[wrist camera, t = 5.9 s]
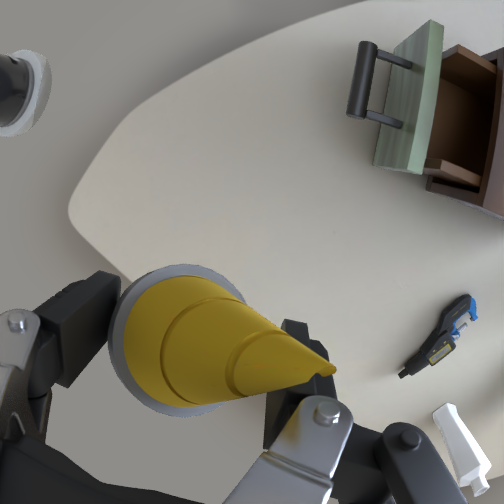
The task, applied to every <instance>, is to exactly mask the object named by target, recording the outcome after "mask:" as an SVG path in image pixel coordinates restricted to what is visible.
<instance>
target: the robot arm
mask: <svg viewBox="0 0 504 504" xmlns="http://www.w3.org/2000/svg"><path fill="white" fill-rule="evenodd" d="M6 54H7V53H6ZM7 55H8V56H6V55H2V54H0V127H9V126H11V125H13V124H14V123H16V122H17V121H18V120H19V119H20V118H21V117H22V115H23V114H24V112H25V111H26V109H27V107H28V105H29V103H30V100H31V97H32V94H33V89H34V71H33V68H32V66H31V64H30V63H29V62H28V61H27V60H25V59H22V58H15V57H14V56H12V55H11V54H7ZM120 291H121V279H120V277H119V276H117V275H114V274H111V273H107V272H104V271H100V270H99V271H97V272H96V273H94V274H93V275H92V276H90V277H89V278H87V279H86V280H80V281H77V282H74V283H71V284H69V285H68V286H67V287H65V288H64V289H62V291H59V292H58V293H57V294H55V296H52V297H51V298H50V299H48V300H47V301H46V302H44V303H43V304H42V305H40V306H39V307H38V308H36V309H35V310H33V311H29V310H25V309H12V310H9V311H6V312H4V313H2V314H0V504H204V503H199V502H195V501H191V500H187V499H183V498H179V497H176V496H172V495H169V494H165V493H162V492H158V491H155V490H146V489H138V488H131V487H124V486H118V485H111V484H106V483H102V482H100V481H99V480H97V479H95V478H94V477H92V476H91V475H90V474H89V473H87V472H86V471H84V470H83V469H82V468H80V467H79V466H78V465H76V464H75V463H74V462H73V461H71V460H70V459H69V458H68V457H66V456H65V455H64V454H63V453H61V452H59V451H57V450H55V449H53V448H51V447H50V446H48V445H46V444H45V439H46V432H47V424H48V418H49V412H50V406H51V400H52V391H51V387H52V386H53V385H54V383H57V384H59V385H61V386H63V387H66V388H69V387H70V385H71V384H72V383H73V382H74V380H75V379H76V378H77V377H78V375H79V374H80V373H81V372H82V371H83V369H84V368H85V367H86V366H87V365H88V363H89V362H90V361H91V360H92V358H93V357H94V356H95V355H96V354H97V352H98V351H99V350H100V349H101V348H102V346H103V345H104V344H105V343H106V342H107V341H108V330H109V325H110V320H111V316H112V314H113V311H114V308H115V306H116V303H117V301H118V300H119V298H120ZM281 330H283V331H284V332H286V333H287V334H289V335H290V336H292V337H293V338H294V339H296V340H297V341H299V342H300V343H302V344H303V345H305V346H306V347H308V348H309V349H311V350H312V351H313V352H315V353H316V354H318V355H319V356H321V357H322V358H324V359H325V360H327V361H328V362H329V357H328V352H327V350H326V349H325V348H324V346H323V345H322V344H321V343H320V341H317V340H312V339H309V333H308V327H307V323H303V322H298V321H293V320H289V319H284V321H283V323H282V326H281ZM263 449H268V451H267V452H263V453H262V454H261V455H260V456H259V458H258V459H257V460H256V461H255V463H254V464H253V465H252V467H251V468H250V469H249V471H248V472H247V473H246V475H245V476H244V477H243V478H242V480H241V481H240V482H239V483H238V485H237V486H236V487H235V489H234V490H233V491H232V492H231V493H230V495H229V496H228V497H227V498H226V500H225V501H224V502H223V503H222V504H326V502H327V500H328V498H329V497H332V498H335V499H338V502H339V504H395V502H396V504H468V502H467V500H466V499H465V497H464V495H463V494H462V492H461V490H460V488H459V487H458V485H457V483H456V482H455V480H454V478H453V477H452V475H451V473H450V472H449V470H448V468H447V467H446V465H445V464H444V462H443V460H442V459H441V457H440V455H439V454H438V452H437V451H436V449H435V447H434V446H433V444H432V443H431V441H430V439H429V438H428V436H427V435H426V434H425V433H424V432H423V431H422V430H421V429H419V428H418V427H416V426H414V425H411V424H408V423H403V422H397V423H393V424H390V425H389V426H387V427H386V429H385V430H384V432H383V433H380V432H377V431H374V430H370V429H367V428H364V427H362V426H359V425H357V424H355V423H354V422H353V416H352V414H351V412H350V410H349V409H348V408H347V407H346V406H345V405H344V404H343V403H341V402H340V401H338V400H337V395H336V390H335V385H334V380H333V375H329V376H325V377H322V376H321V375H320V374H319V373H315V374H314V375H313V376H312V377H311V378H310V380H309V381H308V382H305V383H302V384H298V385H294V386H290V387H286V388H283V389H279V390H274V391H270V392H267V397H266V413H265V429H264V442H263ZM392 495H393V497H394V499H395V502H394V500H393V498H392Z"/></svg>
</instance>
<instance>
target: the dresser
mask: <svg viewBox="0 0 504 504" xmlns="http://www.w3.org/2000/svg"><path fill="white" fill-rule="evenodd" d="M481 57H482V58H484V59H486V60H487V61H489V62H491V63H492V64H494V65H495V66H497V78H496V92H495V103H494V112H493V120H492V128H491V134H490V141H489V147H488V153H487V158H486V163H485V168H484V173H483V178H482V182H481V187H480V191H479V193H475V192H471V191H468V190H466V189H463V188H461V187H458V186H456V185H454V184H451V183H449V182H446V181H443V180H441V179H438V178H436V177H433V176H430V175H429V178H428V182H427V186H426V190H427V191H430V192H432V193H435V194H438V195H441V196H443V197H446V198H449V199H451V200H454V201H456V202H459V203H462V204H464V205H467V206H469V207H472V208H474V209H477V210H479V211H481V212H484V213H486V214H489V215H491V216H493V217H496V218H498V219H500V220H502V221H504V47H503V48H500V49H498V50H496V51H493V52H490V53H488V54H485V55H483V56H481Z"/></svg>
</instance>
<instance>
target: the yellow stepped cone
mask: <svg viewBox="0 0 504 504" xmlns="http://www.w3.org/2000/svg"><path fill="white" fill-rule="evenodd" d="M108 350H109V354H110V359H111V363H112V365H113V367H114V369H115V372H116V374H117V376H118V377H119V379H120V380H121V382H122V383H123V384H124V386H125V387H126V388H127V389H128V390H129V391H130V392H131V393H132V394H133V395H134V396H135V397H136V398H137V399H138V400H139V401H141V402H142V403H143V404H144V405H146V406H147V407H149V408H151V409H153V410H155V411H156V412H159V413H162V414H166V415H169V416H176V417H191V416H197V415H201V414H204V413H207V412H210V411H212V410H214V409H216V408H218V407H219V406H221V405H223V404H224V403H225V402H226V401H229V400H234V399H239V398H244V397H248V396H253V395H257V394H262V393H266V392H270V391H274V390H279V389H283V388H286V387H290V386H294V385H298V384H302V383H305V382H308V381H309V380H310V378H311V377H312V376H313V375H314V374H315V373H319V374H320V375H321V376H322V377H325V376H329V375H332V374H334V373H335V372H336V367H335V366H334V365H332V364H331V363H330V362H328V361H327V360H325V359H324V358H322V357H321V356H319V355H318V354H316V353H315V352H313V351H312V350H311V349H309V348H308V347H306V346H305V345H303V344H302V343H300V342H299V341H297V340H296V339H294V338H293V337H292V336H290V335H289V334H287V333H286V332H284V331H283V330H281V329H280V328H279V327H277V326H276V325H274V324H273V323H271V322H270V321H269V320H267V319H266V318H264V317H263V316H261V315H260V314H259V313H257V312H256V311H254V310H253V309H252V308H250V307H249V306H247V304H246V302H245V300H244V298H243V297H242V295H241V294H240V292H239V291H238V290H237V289H236V287H235V286H234V285H233V284H232V283H231V282H229V281H228V280H227V279H226V278H225V277H224V276H222V275H220V274H219V273H217V272H215V271H213V270H211V269H208V268H205V267H202V266H199V265H190V264H179V265H171V266H167V267H164V268H161V269H158V270H155V271H152V272H149V273H147V274H145V275H144V276H142V277H140V278H139V279H137V280H135V281H134V282H133V283H132V284H131V285H130V286H129V287H128V288H127V289H126V290H125V291H124V293H123V294H122V296H121V297H120V298H119V300H118V301H117V303H116V306H115V308H114V311H113V314H112V316H111V320H110V325H109V330H108Z"/></svg>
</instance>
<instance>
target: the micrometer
mask: <svg viewBox="0 0 504 504" xmlns="http://www.w3.org/2000/svg"><path fill="white" fill-rule="evenodd" d="M466 312H469V313H470V316H471V318H470V320H471V321H475V320H476V319H477V315H476V302H475V300H474V299H473V298H472V297H471V296H470V295H469V294H465V295H462V296H461V297H459V298H458V299H457V300H456V301H455V302H454V303H453V304H452V305H450V306H449V307H448V308H447V309H446V310H445V311H444V312H443V313H442V316H441V319H440V323H439V326H438V328H437V329H435V330H434V331H433V332H432V334H431V335H430V337H429V338H428V339H427V341H426V342H425V343H424V344H423V345H422V347H421V348H420V350H421V351H422V352H419V353H418V354H417V355H416V356H415V357H413V358H412V359H411V360H410V361H408V362H407V363H406V364H405V369H404V370H402V371H401V372H400V373H399V374H398V375H399V377H400V379H401V378H403V377H405V376H406V375H408V374H410V375H411V376H412V375H414V374H415V373H417V372H419V371H420V370H422V369H423V368H425V367H426V366H427V365H429V364H430V365H431V366H434V365H435V364H436V363H438V362H439V361H440V360H441V359H443V358H444V357H445V356H447V355H448V354H449V353H450V352H451V351H453V350H454V349H455V347H456V345H455V343H454V341H455V340H457V339H458V338H459V337H460V334H459V333H460V332H461V331H462V330H463V329H464V328H465V327H467V324H466V323H464V324H463V325H462V326H460V327H459V328H458V329H456V327H455V323H456V321H457V320H458V319H459V318H460V317H461V316H463V315H464V314H465V313H466ZM422 353H423V354H422ZM428 362H429V363H428Z"/></svg>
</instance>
